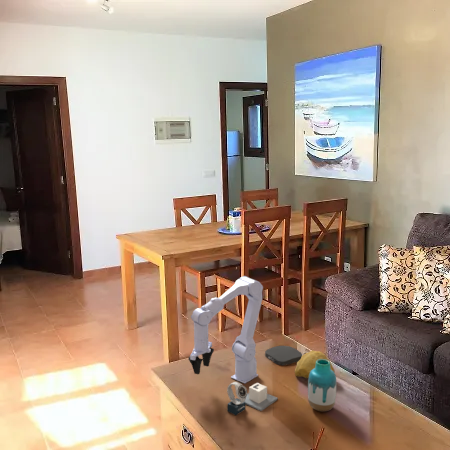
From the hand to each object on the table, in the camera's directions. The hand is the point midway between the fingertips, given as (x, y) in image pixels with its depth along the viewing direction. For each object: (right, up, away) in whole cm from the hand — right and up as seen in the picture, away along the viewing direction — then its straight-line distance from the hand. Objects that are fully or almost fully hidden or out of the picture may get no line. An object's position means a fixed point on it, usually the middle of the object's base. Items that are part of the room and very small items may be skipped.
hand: (201, 369), depth 202 cm
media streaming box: (+37, -4, +33) cm, 50 cm away
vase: (+46, -12, -11) cm, 49 cm away
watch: (+14, -12, -12) cm, 22 cm away
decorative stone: (+47, -8, +13) cm, 49 cm away
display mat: (+23, -11, -6) cm, 26 cm away
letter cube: (+22, -10, -6) cm, 25 cm away
